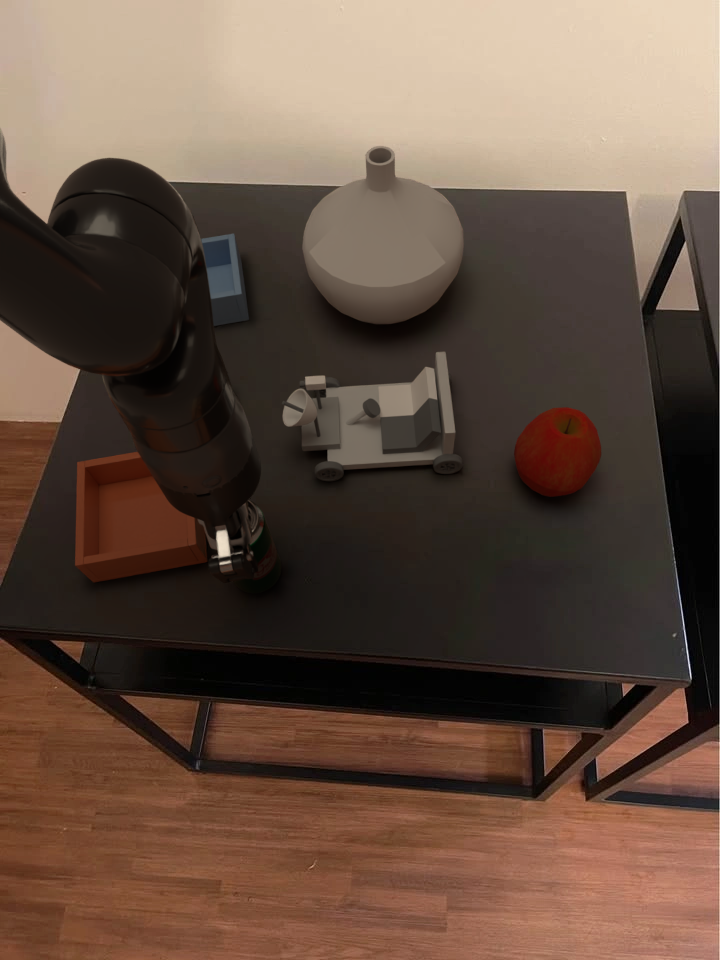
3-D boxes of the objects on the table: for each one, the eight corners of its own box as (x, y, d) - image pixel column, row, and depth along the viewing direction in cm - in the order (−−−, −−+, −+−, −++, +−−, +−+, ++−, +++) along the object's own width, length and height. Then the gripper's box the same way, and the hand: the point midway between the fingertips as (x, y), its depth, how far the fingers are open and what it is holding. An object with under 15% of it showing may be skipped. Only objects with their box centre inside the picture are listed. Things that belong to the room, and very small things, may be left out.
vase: (297, 342, 85) (271, 213, 69) (324, 232, 94) (308, 93, 77) (451, 356, 83) (463, 227, 66) (465, 243, 92) (479, 102, 75)
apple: (583, 518, 73) (610, 466, 63) (502, 501, 74) (517, 447, 65) (593, 451, 76) (620, 392, 67) (516, 435, 78) (532, 375, 68)
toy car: (277, 435, 68) (279, 338, 73) (291, 484, 76) (292, 394, 82) (468, 422, 67) (455, 327, 73) (461, 473, 76) (450, 384, 81)
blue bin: (166, 334, 87) (155, 308, 83) (163, 273, 92) (152, 246, 88) (249, 320, 87) (241, 293, 83) (241, 260, 92) (234, 233, 88)
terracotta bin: (93, 582, 72) (74, 565, 68) (93, 483, 78) (76, 461, 73) (207, 562, 72) (196, 544, 68) (200, 464, 78) (189, 442, 74)
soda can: (270, 601, 69) (248, 553, 59) (223, 586, 70) (193, 536, 60) (289, 555, 72) (271, 501, 61) (243, 541, 73) (218, 485, 62)
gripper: (140, 370, 53) (196, 480, 68) (146, 546, 46) (207, 625, 61) (241, 353, 53) (275, 466, 68) (262, 526, 46) (294, 609, 61)
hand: (243, 541), depth 65 cm, fingers closed on soda can, 5 cm apart
